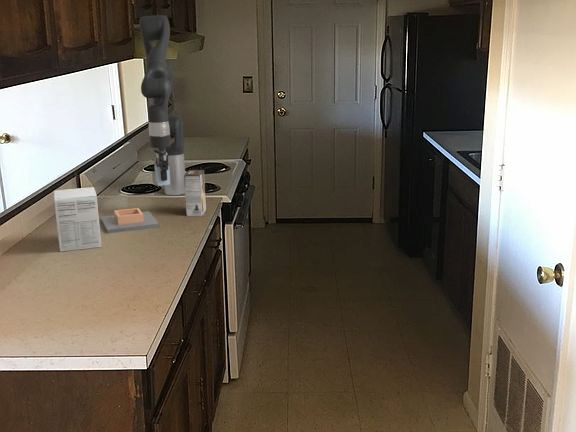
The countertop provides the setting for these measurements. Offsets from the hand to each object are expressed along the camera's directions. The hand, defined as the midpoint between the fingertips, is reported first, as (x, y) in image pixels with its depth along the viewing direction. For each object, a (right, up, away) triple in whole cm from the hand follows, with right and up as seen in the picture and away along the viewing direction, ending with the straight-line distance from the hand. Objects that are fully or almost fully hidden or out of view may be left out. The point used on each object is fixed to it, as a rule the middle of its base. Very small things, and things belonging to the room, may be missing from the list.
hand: (162, 178), depth 242 cm
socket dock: (-11, -17, -5) cm, 21 cm away
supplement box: (-22, -23, -27) cm, 42 cm away
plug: (0, -2, +1) cm, 2 cm away
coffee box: (+12, -13, +8) cm, 19 cm away
